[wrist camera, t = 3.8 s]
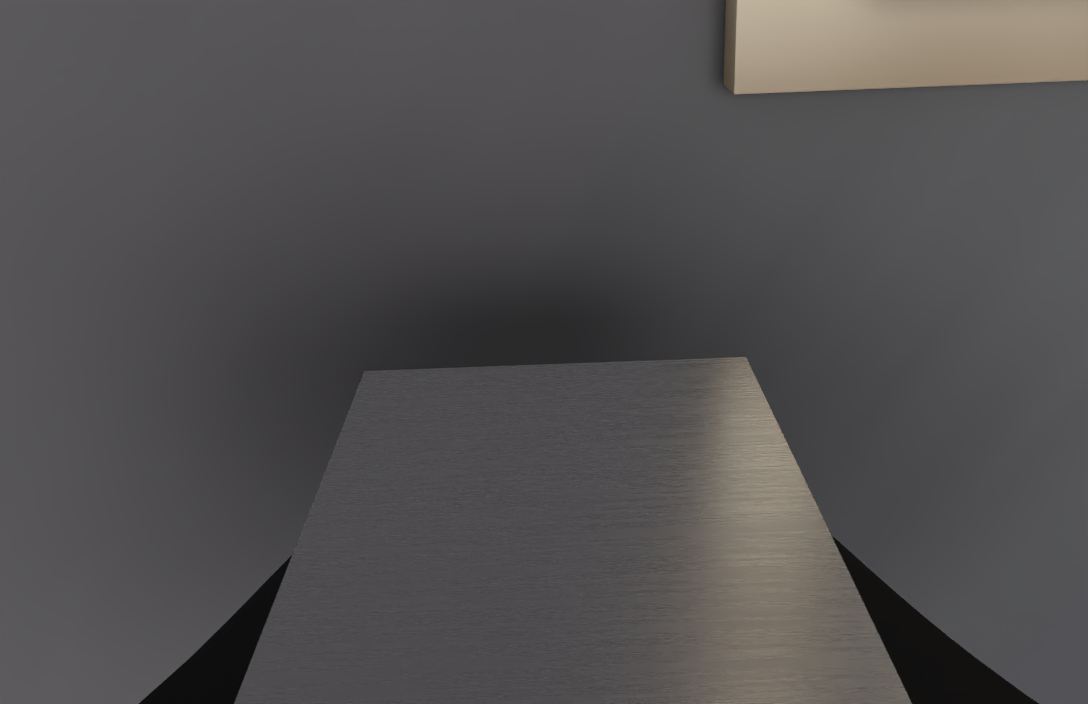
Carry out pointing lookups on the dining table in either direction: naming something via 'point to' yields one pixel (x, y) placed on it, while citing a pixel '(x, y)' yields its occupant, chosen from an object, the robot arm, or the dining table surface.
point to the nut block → (567, 549)
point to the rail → (901, 43)
